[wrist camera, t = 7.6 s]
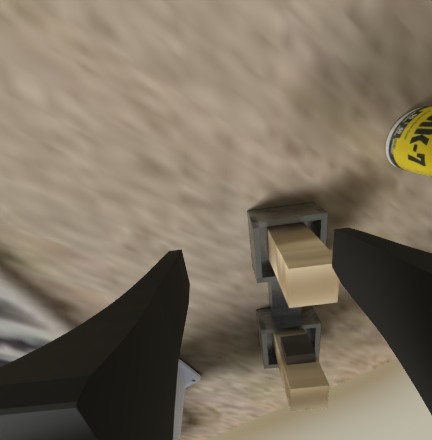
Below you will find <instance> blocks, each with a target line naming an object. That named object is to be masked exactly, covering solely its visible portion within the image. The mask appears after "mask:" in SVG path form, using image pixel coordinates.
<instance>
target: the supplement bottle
mask: <svg viewBox="0 0 432 440" xmlns="http://www.w3.org/2000/svg"><path fill="white" fill-rule="evenodd" d="M386 156H387V158H388V160H389V161H390V163H391V164H392V165H394V166H395V167H397V168H400V169H403V170H407V171H411V172H415V173H419V174H423V175H427V176H431V177H432V106H426V107H421V108H417V109H415V110H412V111H410V112H409V113H407V114H405V115H404V116H403V117H402V118H400V119H399V120H398V121H397V122H396V124H395V125H394V126H393V128H392V129H391V131H390V133H389V135H388V138H387V142H386Z"/></svg>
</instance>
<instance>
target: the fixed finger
mask: <svg viewBox="0 0 432 440" xmlns="http://www.w3.org/2000/svg"><path fill="white" fill-rule="evenodd" d="M273 343H274V351H275V355H276V359H277V362H278V366H279V370H280V373H281V377H282V381H283V384H284V388H285V392H286V395H287V399H288V403H289V406H290V410H291V411H298V410H308V409H319V408H327V404H328V394H329V384H328V381H327V379H326V377H325V375H324V372H323V370H322V368H321V366H320V363H319V361H318V359H317V357H316V352H315V350H314V348H313V346H312V343H311V341H310V339H309V337H308V335H307V334H306V332H305V330H304V329H300V330H291V331H282V332H273Z"/></svg>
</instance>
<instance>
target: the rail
mask: <svg viewBox="0 0 432 440" xmlns="http://www.w3.org/2000/svg"><path fill="white" fill-rule="evenodd" d="M247 213H248V224H249V235H250V246H251V257H252V266H253V270H254V273H255V277H256V280H257V283H261V282H268V288H269V304H270V308H268V309H259V310H256V311H257V322H258V333H259V344H260V350H261V355H262V359H263V364H264V369H265V368H275V367H279V366H278V362H277V359H276V355H275V351H274V343H273V332H282V331H291V330H300V329H304V330H305V332H306V334H307V335H308V337H309V339H310V341H311V343H312V346H313V348H314V350H315V352H316V357H317V359H318V361H319V350H320V334H321V322H320V320H319V319H318V317H317V315H316V313H315V311H314V309H313V308H312V306H302V307H294V308H289V306H288V304H287V301H286V300H285V298H284V296H283V293H282V291H281V288H280V286H279V284H278V280H277V277H276V275H275V273H274V270H273V268H272V265H271V263H270V261H269V255H268V237H267V228H268V227H276V226H283V225H291V224H299V223H305V224H306V225H307V226H308V227H309V229H310V230H311V231H312V232H313V233H314V234H315V235H316V236H317V237H318V238H319V239H320V240H321V241H322V242H323V244H324V245H325V246H326V238H327V222H328V212H326V211H325V210H324V209H322V208H321V207H320V206H318V205H317V204H316V203H314V202H310V203H302V204H295V205H288V206H280V207H273V208H266V209H258V210H251V211H247Z"/></svg>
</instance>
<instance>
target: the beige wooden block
mask: <svg viewBox="0 0 432 440" xmlns="http://www.w3.org/2000/svg"><path fill="white" fill-rule="evenodd" d="M267 237H268V255H269V261H270V263H271V265H272V268H273V270H274V273H275V275H276V277H277V280H278V284H279V286H280V288H281V291H282V293H283V296H284V298H285V300H286V301H287V304H288V306H289V308H294V307H302V306H311V305H319V304H328V303H336V302H337V300H338V290H339V278H338V277H337V275H336V273H335V271H334V270H333V268H332V256H333V253H332V252H331V251H330V250H329V249H328V248H327V247H326V246H325V245H324V244H323V242H322V241H321V240H320V239H319V238H318V237H317V236H316V235H315V234H314V233H313V232H312V231H311V230H310V229H309V227H308V226H307V225H306V224H305V223H299V224H291V225H283V226H276V227H268V228H267Z"/></svg>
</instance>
